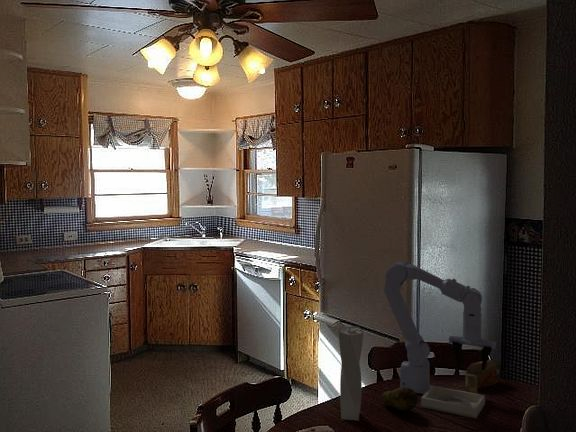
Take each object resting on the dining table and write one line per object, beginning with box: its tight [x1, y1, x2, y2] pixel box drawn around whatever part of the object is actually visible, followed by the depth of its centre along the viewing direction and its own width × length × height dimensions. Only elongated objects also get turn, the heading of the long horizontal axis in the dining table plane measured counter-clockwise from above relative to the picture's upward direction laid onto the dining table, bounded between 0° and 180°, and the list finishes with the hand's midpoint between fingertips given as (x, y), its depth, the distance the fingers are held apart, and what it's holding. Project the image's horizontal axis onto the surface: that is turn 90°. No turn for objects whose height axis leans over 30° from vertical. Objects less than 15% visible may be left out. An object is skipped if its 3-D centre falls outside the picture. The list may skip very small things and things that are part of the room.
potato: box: [381, 387, 419, 411], centre depth 164 cm, size 8×13×8 cm, turn 13°
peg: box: [465, 374, 478, 394], centre depth 176 cm, size 4×4×7 cm
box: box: [420, 385, 486, 420], centre depth 168 cm, size 17×13×3 cm
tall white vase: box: [338, 325, 364, 422], centre depth 160 cm, size 8×8×28 cm
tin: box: [465, 359, 502, 389], centre depth 187 cm, size 15×3×8 cm, turn 118°
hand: (471, 367), depth 176 cm, fingers open, 7 cm apart
